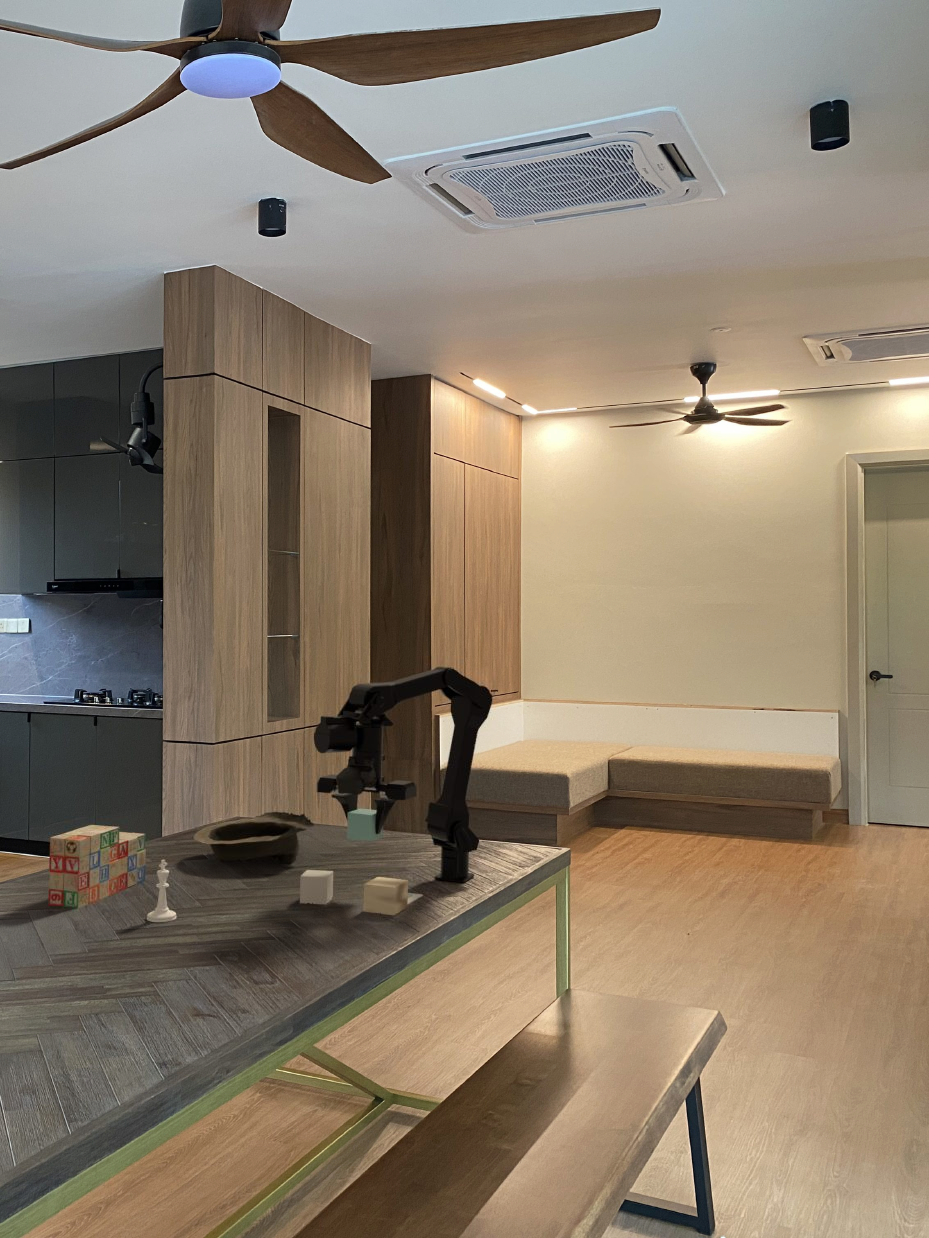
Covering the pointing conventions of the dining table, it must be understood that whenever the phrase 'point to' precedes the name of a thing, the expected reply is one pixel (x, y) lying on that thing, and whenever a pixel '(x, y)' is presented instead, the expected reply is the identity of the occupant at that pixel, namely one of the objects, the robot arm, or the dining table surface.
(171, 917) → the chess piece
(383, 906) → the maple block
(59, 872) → the stack of blocks
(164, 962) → the dining table surface
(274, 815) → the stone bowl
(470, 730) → the robot arm
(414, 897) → the card
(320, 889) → the beige block
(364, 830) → the teal block
